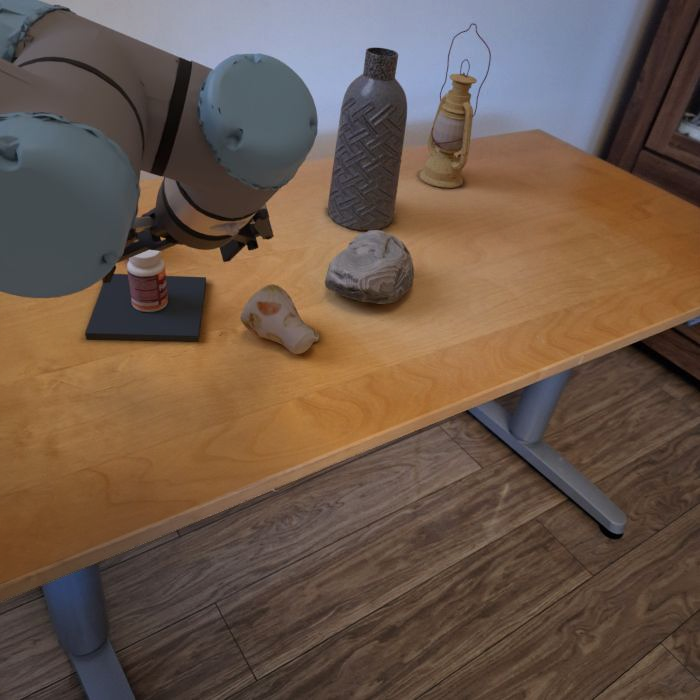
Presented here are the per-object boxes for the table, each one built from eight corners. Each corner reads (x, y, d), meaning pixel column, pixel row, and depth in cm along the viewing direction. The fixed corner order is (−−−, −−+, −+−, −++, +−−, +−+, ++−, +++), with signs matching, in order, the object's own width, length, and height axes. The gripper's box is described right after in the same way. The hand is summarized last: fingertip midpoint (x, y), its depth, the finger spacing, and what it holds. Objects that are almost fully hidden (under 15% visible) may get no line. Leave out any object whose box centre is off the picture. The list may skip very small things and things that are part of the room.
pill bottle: (169, 312, 84) (164, 258, 78) (132, 314, 82) (125, 260, 77) (167, 292, 87) (162, 239, 82) (131, 294, 86) (124, 241, 81)
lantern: (477, 187, 130) (518, 31, 112) (442, 194, 126) (478, 32, 107) (441, 165, 138) (473, 15, 119) (407, 170, 133) (434, 16, 114)
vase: (314, 215, 112) (328, 47, 94) (350, 195, 120) (370, 37, 103) (370, 239, 108) (396, 68, 90) (404, 216, 116) (434, 55, 98)
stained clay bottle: (296, 373, 79) (261, 308, 74) (256, 361, 86) (222, 302, 81) (336, 338, 82) (304, 274, 77) (294, 330, 90) (263, 271, 85)
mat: (86, 339, 79) (84, 333, 78) (107, 279, 90) (106, 273, 89) (198, 341, 81) (198, 335, 80) (206, 282, 92) (206, 277, 91)
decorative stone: (336, 303, 85) (347, 231, 83) (305, 284, 97) (313, 219, 95) (427, 310, 91) (439, 242, 89) (386, 290, 103) (396, 230, 101)
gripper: (59, 264, 45) (55, 315, 64) (352, 217, 57) (275, 272, 75) (32, 165, 45) (37, 245, 64) (330, 138, 57) (259, 213, 75)
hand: (166, 260), depth 70 cm, fingers open, 13 cm apart
